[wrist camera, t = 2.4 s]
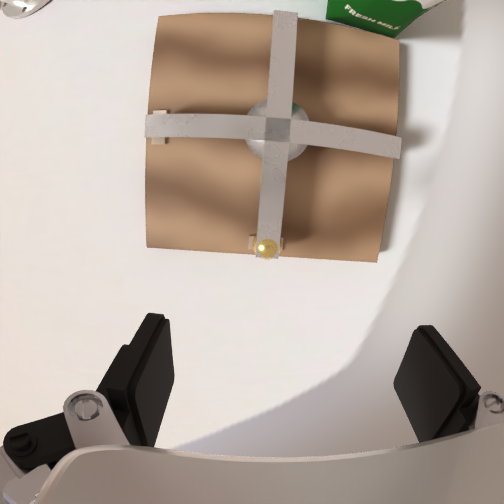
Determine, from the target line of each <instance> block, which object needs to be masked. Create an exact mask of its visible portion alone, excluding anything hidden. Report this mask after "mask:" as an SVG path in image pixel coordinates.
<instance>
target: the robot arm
mask: <svg viewBox="0 0 504 504" xmlns="http://www.w3.org/2000/svg"><path fill="white" fill-rule="evenodd" d="M0 1H2V3H1V6H2V11H3V13H4V14H5V15H6V16H8V17H10V18H15V19H18V18H23V17H25V16H28V15H30V14H32V13H34V12H35V11H37V10H38V9H40V8H41V7H43V6H44V5H45V4H46V3H47V2H49V1H50V0H0ZM173 383H174V366H173V356H172V345H171V333H170V321H169V319H165V317H164V315H163V314H155V313H148V314H147V315H146V317H145V319H144V320H143V322H142V324H141V325H140V327H139V329H138V330H137V332H136V334H135V336H134V337H133V339H132V341H131V343H130V344H129V345H126V344H125V345H123V346H122V347H121V348H120V350H119V352H118V353H117V355H116V357H115V359H114V360H113V362H112V364H111V365H110V367H109V369H108V371H107V372H106V374H105V376H104V377H103V379H102V381H101V383H100V384H99V386H98V388H97V390H96V391H93V390H81V391H78V392H75V393H73V394H72V395H70V396H69V397H68V398H67V399H66V401H65V402H64V406H63V411H64V412H62V413H59V414H56V415H53V416H50V417H47V418H44V419H40V420H37V421H34V422H30V423H27V424H24V425H20V426H17V427H15V428H12V429H11V430H10V431H9V432H7V434H6V436H5V437H4V441H3V446H1V447H0V504H29V503H30V502H31V501H33V500H34V499H36V500H35V502H34V504H504V397H503V396H501V395H500V394H498V393H496V392H493V391H486V392H484V393H482V394H481V395H480V396H479V394H478V392H479V391H480V389H481V387H480V385H479V384H478V383H477V381H476V380H475V378H474V377H473V376H472V375H471V373H470V372H469V370H468V369H467V368H466V367H465V366H464V364H463V362H462V361H461V360H460V359H459V357H458V356H457V355H456V353H455V352H454V351H453V350H452V348H451V347H450V346H449V345H448V344H447V342H446V341H445V340H444V339H443V337H442V336H441V335H440V334H439V332H438V331H437V330H436V329H435V328H434V327H433V326H432V325H420V326H418V328H417V329H416V330H414V332H413V334H412V337H411V340H410V342H409V345H408V347H407V350H406V352H405V355H404V358H403V360H402V362H401V365H400V367H399V370H398V372H397V374H396V377H395V379H394V389H395V391H396V393H397V395H398V397H399V399H400V401H401V403H402V406H403V408H404V410H405V412H406V414H407V416H408V419H409V421H410V423H411V425H412V427H413V430H414V432H415V434H416V436H417V438H418V441H419V443H416V444H411V445H406V446H401V447H395V448H389V449H383V450H376V451H369V452H361V453H353V454H343V455H332V456H317V457H287V458H286V457H283V458H282V457H281V458H280V457H279V458H278V457H273V458H272V457H242V456H227V455H214V454H203V453H194V452H185V451H178V450H170V449H162V448H154V445H155V442H156V439H157V435H158V432H159V429H160V425H161V422H162V419H163V415H164V412H165V409H166V406H167V402H168V399H169V396H170V393H171V390H172V386H173ZM37 493H39V494H38V496H37V497H36V496H35V495H36V494H37Z"/></svg>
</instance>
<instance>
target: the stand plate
mask: <svg viewBox="0 0 504 504" xmlns="http://www.w3.org/2000/svg"><path fill="white" fill-rule="evenodd" d="M272 21H273V15H263V14H246V13H196V14H179V15H167V16H159V18H158V24H157V30H156V37H155V44H154V52H153V61H152V69H151V79H150V90H149V102H148V115H151V114H228V115H247V114H248V113H249V111H250V110H251V109H252V108H253V107H254V106H255V105H256V104H257V103H259V102H261V101H263V100H265V99H267V90H268V77H269V63H270V49H271V35H272ZM398 100H399V40H396V39H393V38H390V37H386V36H383V35H379V34H376V33H372V32H368V31H364V30H360V29H356V28H352V27H347V26H342V25H337V24H332V23H327V22H321V21H315V20H309V19H302V18H297V34H296V51H295V68H294V83H293V98H292V101H293V102H294V103H296V104H298V105H299V106H300V107H301V108H302V109H303V110H304V111H305V113H306V115H307V116H308V119H309V121H311V122H319V123H326V124H333V125H339V126H346V127H352V128H357V129H363V130H368V131H373V132H378V133H383V134H388V135H393V136H396V131H397V118H398ZM393 162H394V158H390V157H384V156H379V155H373V154H368V153H362V152H355V151H349V150H342V149H335V148H328V147H320V146H312V145H307V147H306V148H305V150H304V151H303V152H302V153H301V154H300V155H299V156H297V157H296V158H294V159H292V160H290V161H288V162H287V173H286V184H285V195H284V206H283V216H282V226H281V236H280V238H281V241H282V249H281V251H280V253H279V255H278V256H283V257H298V258H314V259H329V260H345V261H360V262H376V263H377V259H378V255H379V250H380V245H381V240H382V234H383V229H384V223H385V218H386V212H387V206H388V199H389V192H390V185H391V178H392V170H393ZM261 171H262V159H261V158H260V157H258V156H257V155H255V154H254V153H253V152H252V151H251V149H250V148H249V146H248V145H247V143H246V140H245V139H227V138H197V137H154V138H150V137H146V168H145V209H146V242H147V247H148V248H163V249H178V250H192V251H207V252H222V253H237V254H252V255H256V253H255V252H254V250H253V239H254V237H255V236H256V235H257V223H258V210H259V197H260V184H261Z"/></svg>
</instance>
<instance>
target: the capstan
mask: <svg viewBox="0 0 504 504" xmlns="http://www.w3.org/2000/svg"><path fill="white" fill-rule="evenodd" d="M297 14H298V13H295V12H286V11H276V10H274V14H273V21H272V35H271V49H270V63H269V77H268V90H267V99H265V100H263V101H261V102H259V103H257V104H256V105H255V106H254V107H253V108H252V109H251V110H250V111H249V113H248V114H247V115H228V114H151V115H146V123H145V137H150V138H154V137H197V138H227V139H245V140H246V143H247V145H248V146H249V148H250V149H251V151H252V152H253V153H254V154H255V155H257V156H258V157H260V158H261V159H262V171H261V184H260V197H259V210H258V223H257V235H256V236H255V237H254V239H253V250H254V252H255V253H256V257H260V258H262V259H272V258H277V259H278V255H279V253H280V251H281V249H282V241H281V238H280V236H281V226H282V216H283V206H284V195H285V184H286V173H287V162H288V161H290V160H292V159H294V158H296V157H297V156H299V155H300V154H301V153H302V152H303V151H304V150H305V148H306V147H307V145H312V146H320V147H328V148H335V149H342V150H349V151H355V152H362V153H368V154H373V155H379V156H384V157H390V158H396V159H400V153H401V143H402V138H401V137H397V136H393V135H388V134H383V133H378V132H373V131H368V130H363V129H357V128H352V127H346V126H339V125H333V124H326V123H319V122H311V121H309V119H308V116H307V115H306V113H305V111H304V110H303V109H302V108H301V107H300V106H299V105H298V104H296V103H294V102H293V101H292V98H293V83H294V68H295V51H296V34H297Z"/></svg>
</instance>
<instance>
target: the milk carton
mask: <svg viewBox="0 0 504 504" xmlns="http://www.w3.org/2000/svg"><path fill="white" fill-rule="evenodd" d="M444 1H445V0H328V5H327V13H326V19H328V20H332V21H335V22H339V23H343V24H346V25H350V26H353V27H356V28H359V29H363V30H366V31H369V32H372V33H376V34H379V35H383V36H386V37H390V38H394V37H395V36H397V35H398V34H399V33H400V32H401V31H402V30H403V29H405V28H406V27H407V26H408V25H409V24H411V23H412V22H413V21H414V20H415V19H416V18H418V17H419V16H421V15H422V14H424V13H426V12H427V11H429V10H430V9H432V8H434V7H435V6H437V5H439V4H440V3H442V2H444Z"/></svg>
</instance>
